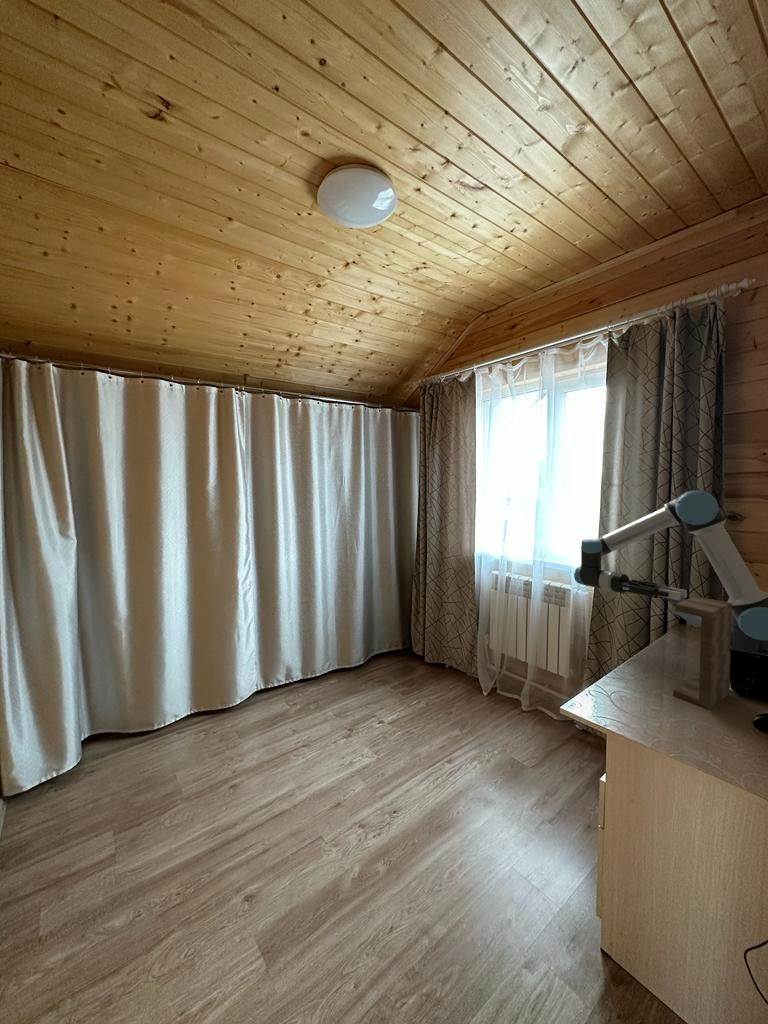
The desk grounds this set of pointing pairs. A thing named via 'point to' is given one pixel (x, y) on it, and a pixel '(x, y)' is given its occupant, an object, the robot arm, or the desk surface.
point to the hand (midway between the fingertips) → (683, 595)
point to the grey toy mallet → (688, 617)
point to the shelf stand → (709, 651)
